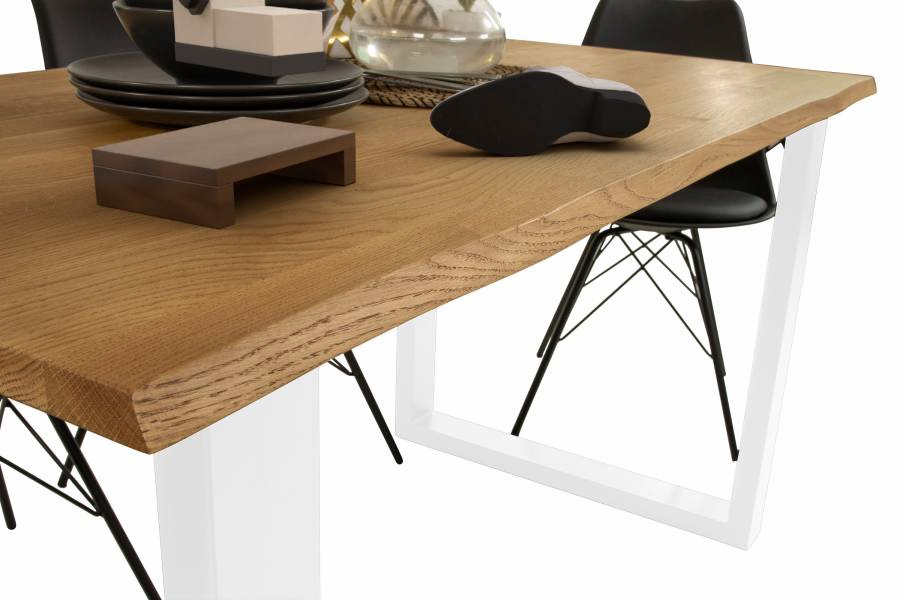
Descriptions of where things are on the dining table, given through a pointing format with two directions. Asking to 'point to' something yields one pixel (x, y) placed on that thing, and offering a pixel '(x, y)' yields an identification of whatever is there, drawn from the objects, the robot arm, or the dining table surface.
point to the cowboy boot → (540, 112)
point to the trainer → (250, 38)
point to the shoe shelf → (216, 166)
